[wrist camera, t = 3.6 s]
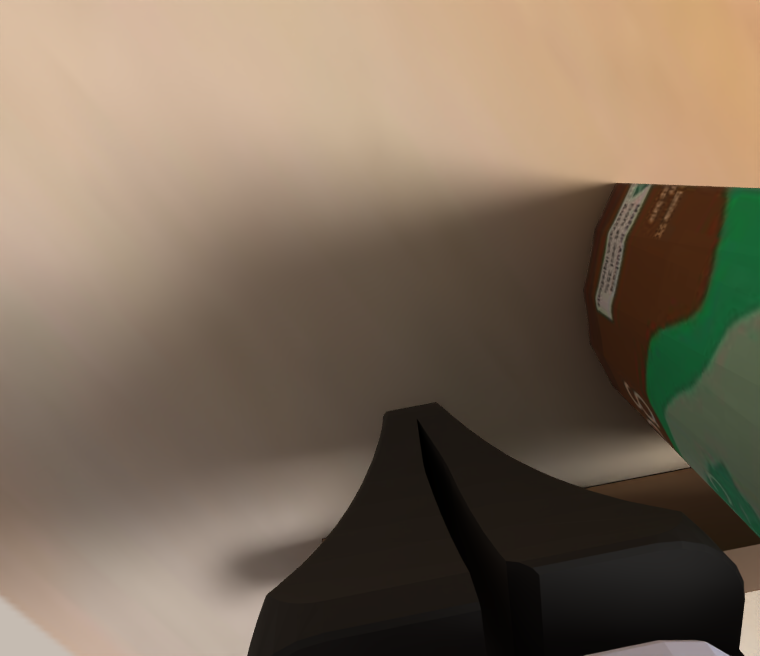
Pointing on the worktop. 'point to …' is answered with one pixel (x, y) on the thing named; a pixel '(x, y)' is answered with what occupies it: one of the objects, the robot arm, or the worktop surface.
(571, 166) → the worktop surface
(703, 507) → the rail
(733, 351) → the food container
